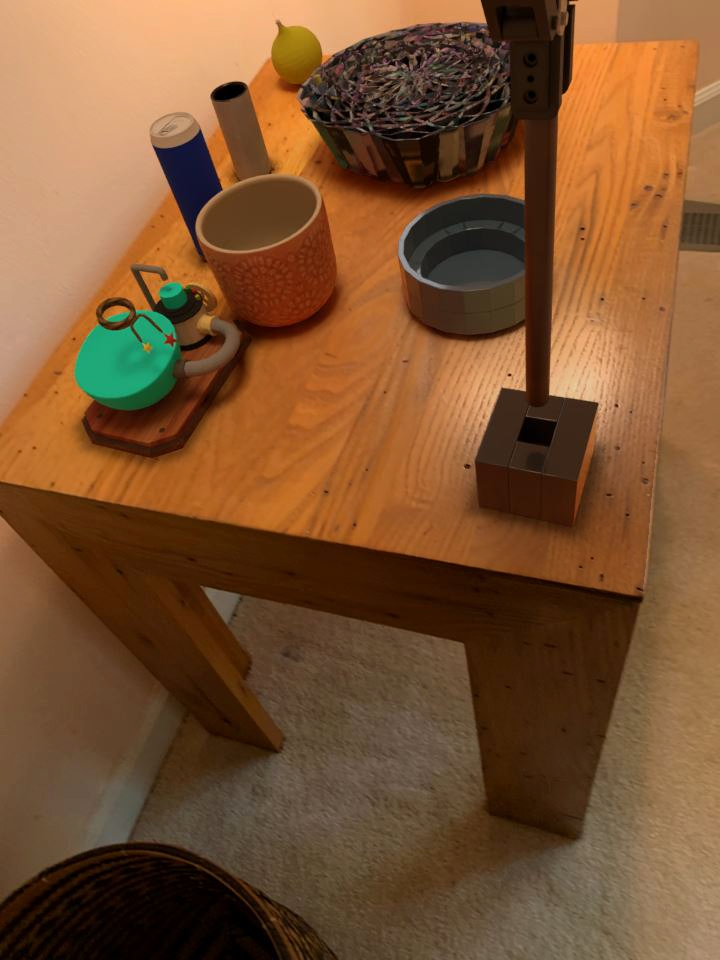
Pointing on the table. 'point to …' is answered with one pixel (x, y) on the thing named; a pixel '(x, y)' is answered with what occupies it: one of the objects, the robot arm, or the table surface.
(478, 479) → the holder
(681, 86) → the table surface
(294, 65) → the yellow oval fruit
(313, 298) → the planter
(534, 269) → the stirring stick
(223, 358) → the contraption on wooden base
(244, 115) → the cardboard tube
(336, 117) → the decorative bowl
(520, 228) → the bowl
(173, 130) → the beverage can
